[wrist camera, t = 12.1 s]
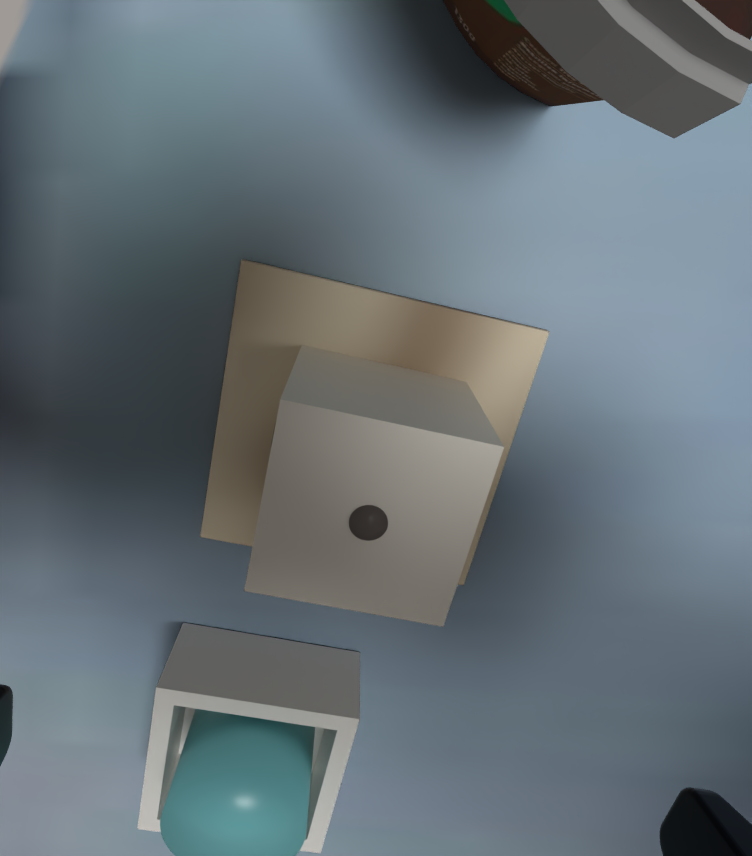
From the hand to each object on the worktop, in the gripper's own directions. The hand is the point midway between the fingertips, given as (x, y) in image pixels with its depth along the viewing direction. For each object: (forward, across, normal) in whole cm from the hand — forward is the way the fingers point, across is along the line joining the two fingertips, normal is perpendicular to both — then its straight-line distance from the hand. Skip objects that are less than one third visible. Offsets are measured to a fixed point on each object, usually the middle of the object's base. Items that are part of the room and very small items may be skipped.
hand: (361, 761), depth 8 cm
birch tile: (+12, 0, 0) cm, 12 cm away
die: (+11, 0, 0) cm, 11 cm away
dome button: (+11, +1, +12) cm, 16 cm away
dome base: (+12, +1, +12) cm, 16 cm away
